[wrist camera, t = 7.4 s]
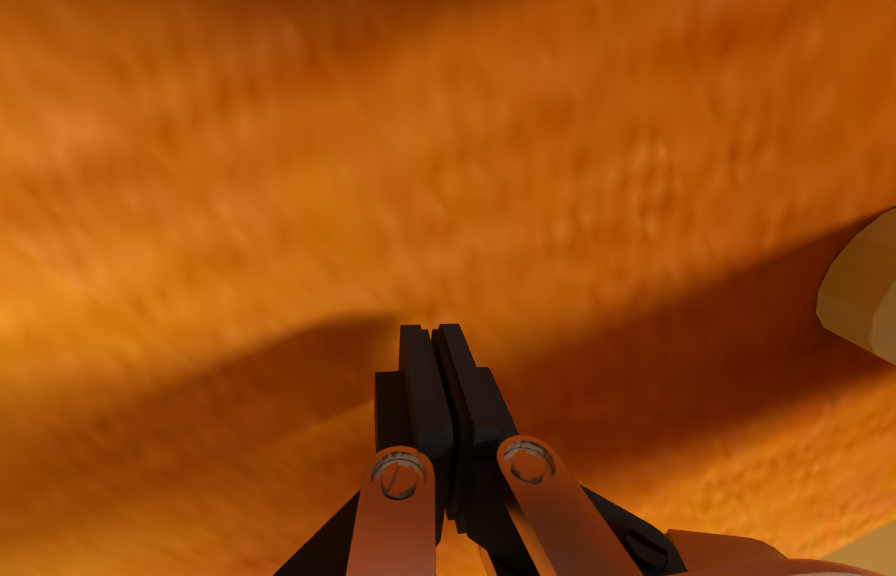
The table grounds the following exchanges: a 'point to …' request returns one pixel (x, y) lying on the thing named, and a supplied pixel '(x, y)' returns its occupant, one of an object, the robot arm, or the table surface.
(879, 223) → the book
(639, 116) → the table surface
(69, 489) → the table surface
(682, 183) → the table surface
